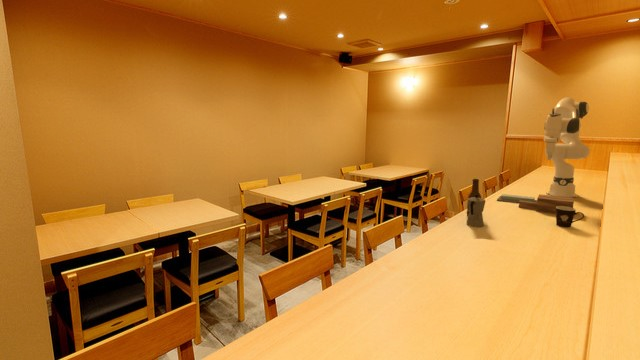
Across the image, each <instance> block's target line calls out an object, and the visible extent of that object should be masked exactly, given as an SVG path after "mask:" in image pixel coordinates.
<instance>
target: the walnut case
mask: <svg viewBox="0 0 640 360" xmlns="http://www.w3.org/2000/svg"><path fill="white" fill-rule="evenodd" d="M536 200H537V202H530V201H522V200H520V201H519V203H518V208H521V209H528V210H535V211H536V212H538V213H549V214H553V215H554V214H555V215H556V207H557V206H566V207H571V208H574V203H575V197H560V196H553V195H549V194H538V197H537V198H536Z"/></svg>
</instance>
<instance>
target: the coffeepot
mask: <svg viewBox="0 0 640 360" xmlns="http://www.w3.org/2000/svg"><path fill="white" fill-rule="evenodd" d="M475 196H476V197H472V198H468V197H467V203H468V206H469V214H468V217H467V219H466V225H467V226H469V227H473V228H481V227H484V216H483V212H484V209H485V205H486V199H485V198H483V197H481V198H479V197H478V194H476V195H475Z"/></svg>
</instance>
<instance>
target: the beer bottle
mask: <svg viewBox="0 0 640 360" xmlns="http://www.w3.org/2000/svg"><path fill="white" fill-rule="evenodd" d="M479 182H480V180H479V179H478V178H473V179H472V187H471V191H470V192H469V194H468V196H467V199H468V198H472V197H476V196H475V195H476V194H478V197H479V198H482V195H481V193H480V190H479V189H480V188H479V187H480V186H479V184H480V183H479ZM468 214H469V206H468V202H467V207H466V217H467V218H468Z"/></svg>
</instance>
